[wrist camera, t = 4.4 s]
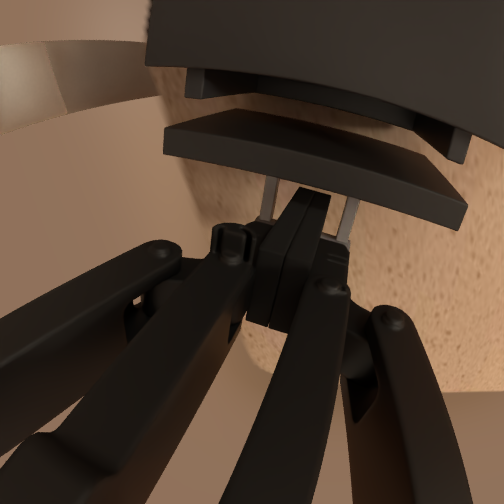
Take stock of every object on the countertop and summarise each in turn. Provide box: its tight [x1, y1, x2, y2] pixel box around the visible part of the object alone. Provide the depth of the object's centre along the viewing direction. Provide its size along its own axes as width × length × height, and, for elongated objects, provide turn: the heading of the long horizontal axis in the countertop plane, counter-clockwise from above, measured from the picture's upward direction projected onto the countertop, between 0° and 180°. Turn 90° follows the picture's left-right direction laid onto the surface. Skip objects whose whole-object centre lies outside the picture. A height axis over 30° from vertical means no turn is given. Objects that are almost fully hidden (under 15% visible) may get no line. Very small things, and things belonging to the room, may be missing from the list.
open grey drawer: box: [163, 68, 472, 251], centre depth 12 cm, size 22×12×9 cm, turn 172°
